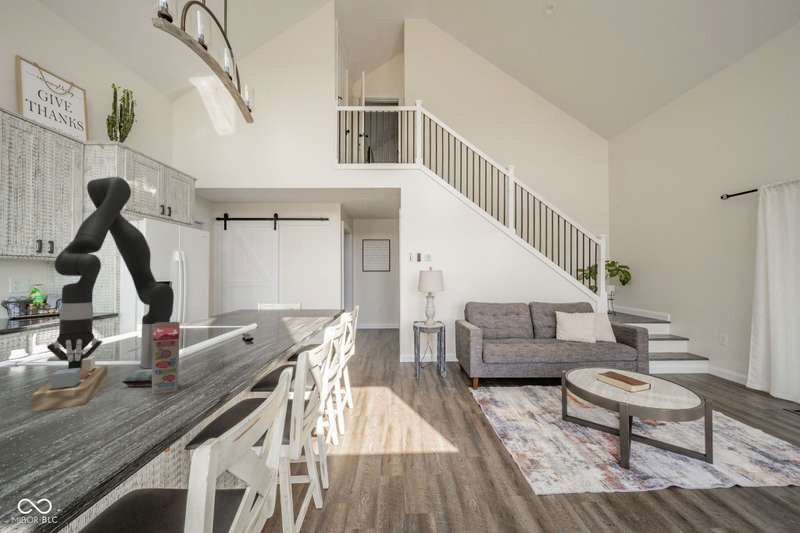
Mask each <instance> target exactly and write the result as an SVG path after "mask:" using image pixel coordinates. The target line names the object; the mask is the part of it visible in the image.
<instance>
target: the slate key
mask: <svg viewBox="0 0 800 533" xmlns="http://www.w3.org/2000/svg"><path fill="white" fill-rule="evenodd" d="M80 378H81V368H74V369H68V368H66V369H64V368H63V369H58V370H56V371H55V372H53V373H52V374H51V380H52V382H51V389H54V388H63V387H71V386H76V385H77V384H78V383H79V382H80Z"/></svg>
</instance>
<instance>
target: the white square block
mask: <svg viewBox="0 0 800 533" xmlns="http://www.w3.org/2000/svg"><path fill="white" fill-rule="evenodd" d="M95 367H96V356H95V355H90V356H89V357H87V358H85V359H82V368H81V370H87V369H88V372H89V371H92V370H93V369H94V368H95Z"/></svg>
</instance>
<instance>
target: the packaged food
mask: <svg viewBox="0 0 800 533" xmlns="http://www.w3.org/2000/svg"><path fill="white" fill-rule="evenodd" d="M121 383H123V384H125V385H126V386H127V387H150V386H151V387H152V368H145V369H141V370H138V369H137V370H135V371H134V372H133V373H131V374H129V376H127V377H126V378H125V379H122V381H121Z"/></svg>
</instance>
